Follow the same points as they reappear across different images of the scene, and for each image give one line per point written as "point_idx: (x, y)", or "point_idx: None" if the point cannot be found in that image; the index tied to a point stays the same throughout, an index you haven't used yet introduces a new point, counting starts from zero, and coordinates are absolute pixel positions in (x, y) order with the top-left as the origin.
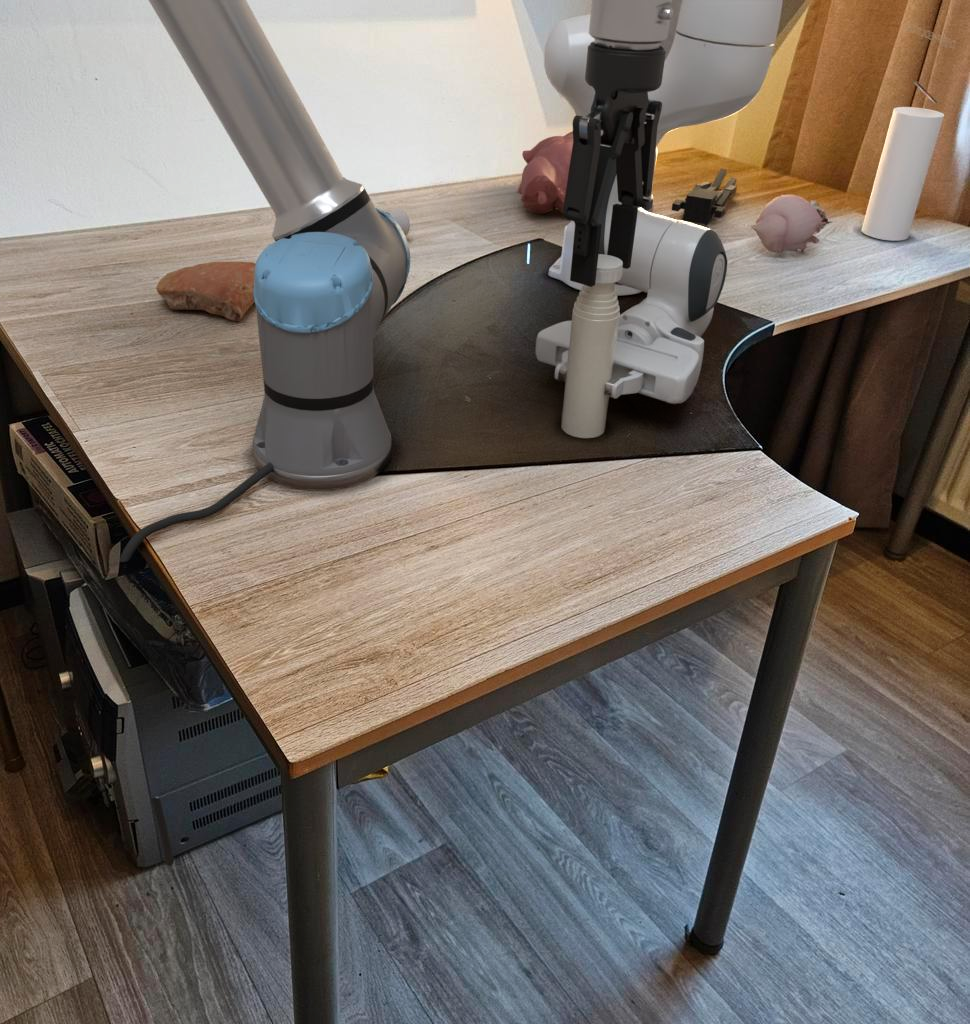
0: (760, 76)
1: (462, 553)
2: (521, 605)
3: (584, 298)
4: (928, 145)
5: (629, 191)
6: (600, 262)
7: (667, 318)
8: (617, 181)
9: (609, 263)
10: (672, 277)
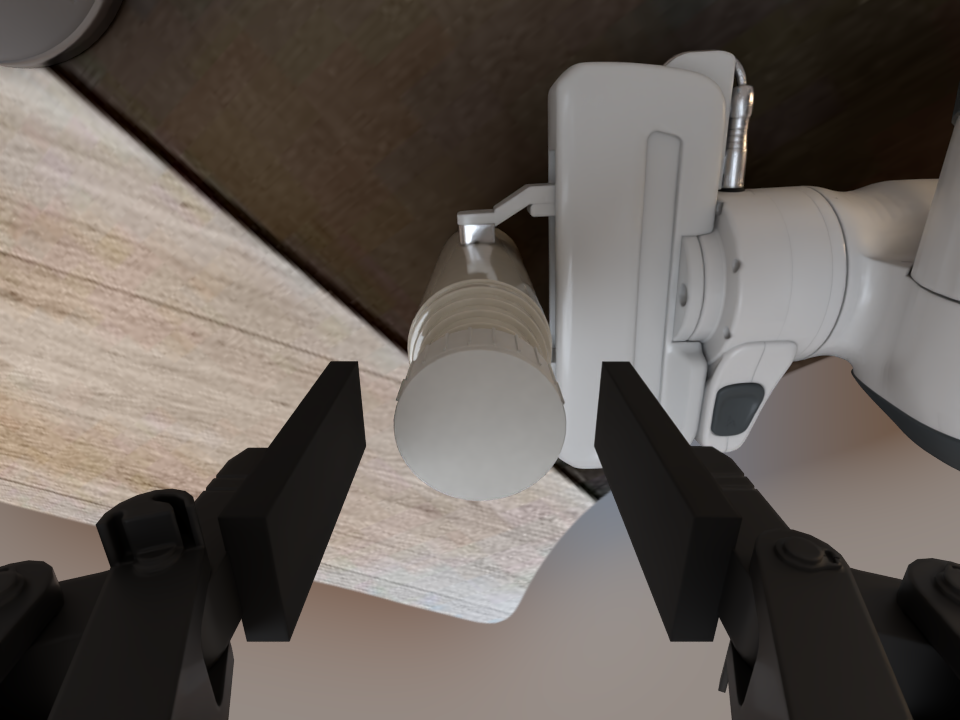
0: None
1: (43, 336)
2: (46, 451)
3: (417, 356)
4: None
5: (747, 696)
6: (461, 432)
7: (789, 355)
8: (780, 683)
9: (475, 463)
10: (916, 370)
